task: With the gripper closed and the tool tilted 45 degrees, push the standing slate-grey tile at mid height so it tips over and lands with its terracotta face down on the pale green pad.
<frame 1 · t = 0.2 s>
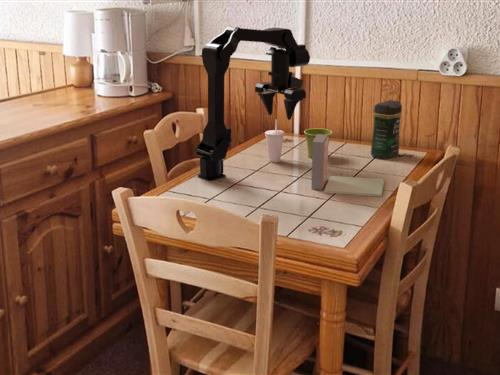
hand: (279, 117, 220), 14 cm above the table, tool pointing down, fingers open, 9 cm apart
coffee jar: (385, 156, 229), on the table
slate tile: (318, 184, 200), on the table
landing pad: (354, 186, 198), on the table
plant pot: (317, 157, 228), on the table
smoothie: (274, 161, 224), on the table
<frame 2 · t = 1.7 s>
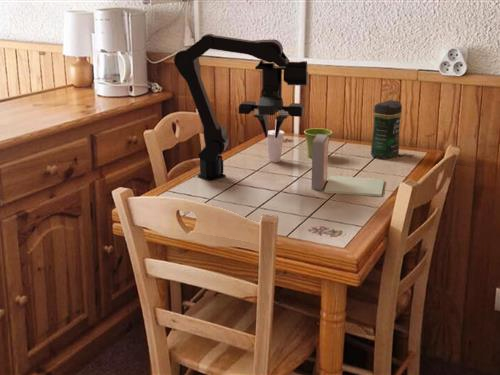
hand: (271, 137, 201), 13 cm above the table, tool pointing down, fingers open, 3 cm apart
nothing on the table moved.
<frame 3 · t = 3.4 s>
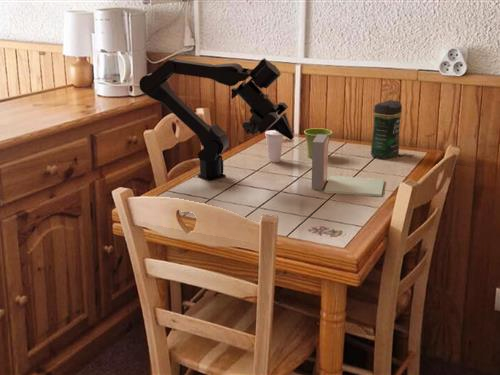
hand: (292, 138, 198), 13 cm above the table, tool tilted 45°, fingers closed
nothing on the table moved.
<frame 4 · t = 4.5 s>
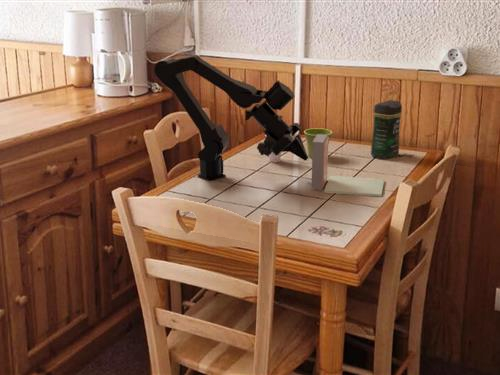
hand: (306, 159, 199), 7 cm above the table, tool tilted 45°, fingers closed
nothing on the table moved.
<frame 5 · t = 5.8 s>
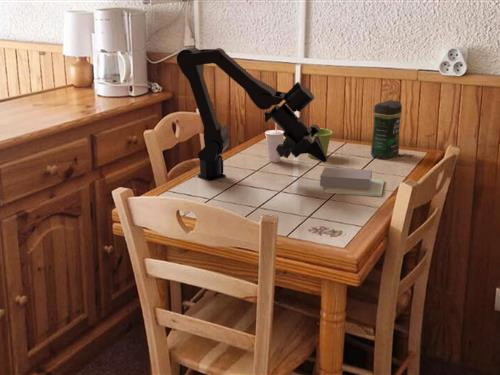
hand: (326, 161, 197), 7 cm above the table, tool tilted 45°, fingers closed
slate tile: (322, 176, 199), point 2 cm above the table, tilted 90°, touching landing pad
everything else where it was.
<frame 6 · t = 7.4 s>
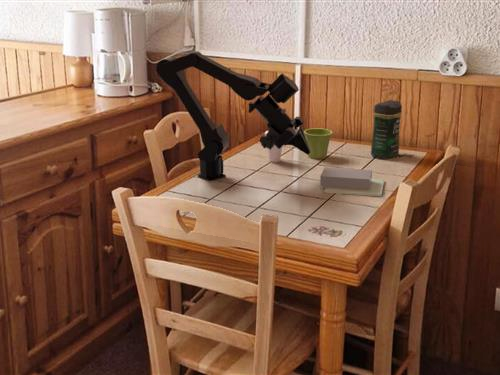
hand: (309, 153, 198), 9 cm above the table, tool tilted 45°, fingers closed
nothing on the table moved.
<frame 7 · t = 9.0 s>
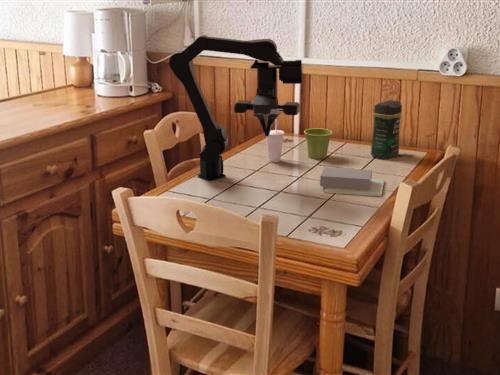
hand: (267, 136, 202), 13 cm above the table, tool pointing down, fingers closed
nothing on the table moved.
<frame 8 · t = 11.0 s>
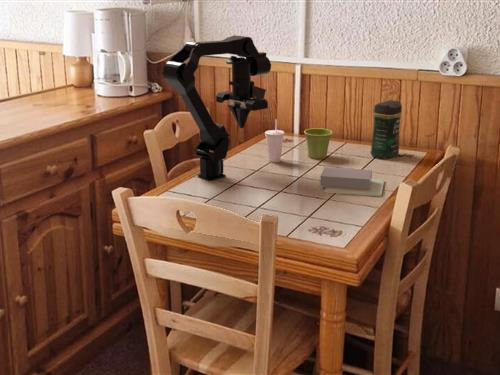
hand: (241, 127, 212), 13 cm above the table, tool pointing down, fingers closed
nothing on the table moved.
at the end: slate tile tilted 90°; slate tile 9.5 cm from the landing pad (horizontally); slate tile point 2.5 cm above the table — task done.
